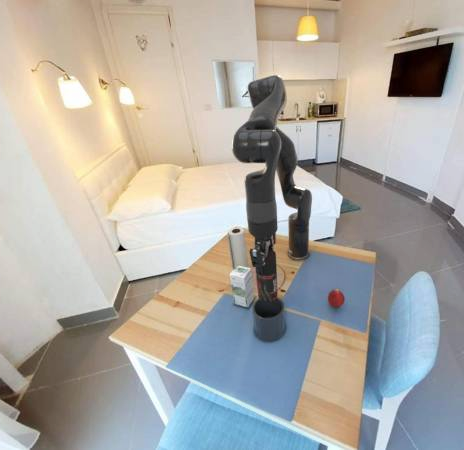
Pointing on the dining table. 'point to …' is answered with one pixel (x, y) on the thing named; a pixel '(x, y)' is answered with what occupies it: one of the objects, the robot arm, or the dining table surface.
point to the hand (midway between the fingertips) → (265, 267)
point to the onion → (336, 298)
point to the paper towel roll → (237, 247)
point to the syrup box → (242, 286)
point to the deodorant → (268, 279)
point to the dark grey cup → (269, 319)
